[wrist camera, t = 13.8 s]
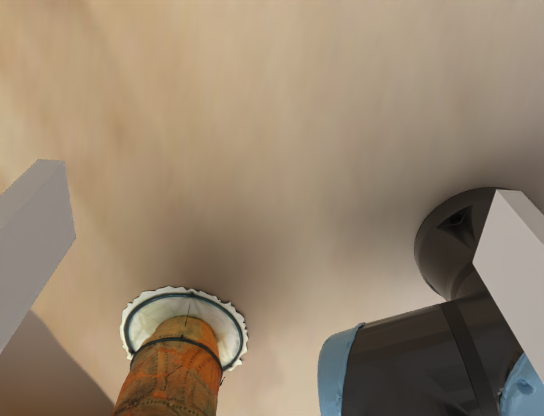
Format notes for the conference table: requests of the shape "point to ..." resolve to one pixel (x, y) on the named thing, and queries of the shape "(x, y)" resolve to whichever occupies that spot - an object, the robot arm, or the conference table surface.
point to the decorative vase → (178, 352)
